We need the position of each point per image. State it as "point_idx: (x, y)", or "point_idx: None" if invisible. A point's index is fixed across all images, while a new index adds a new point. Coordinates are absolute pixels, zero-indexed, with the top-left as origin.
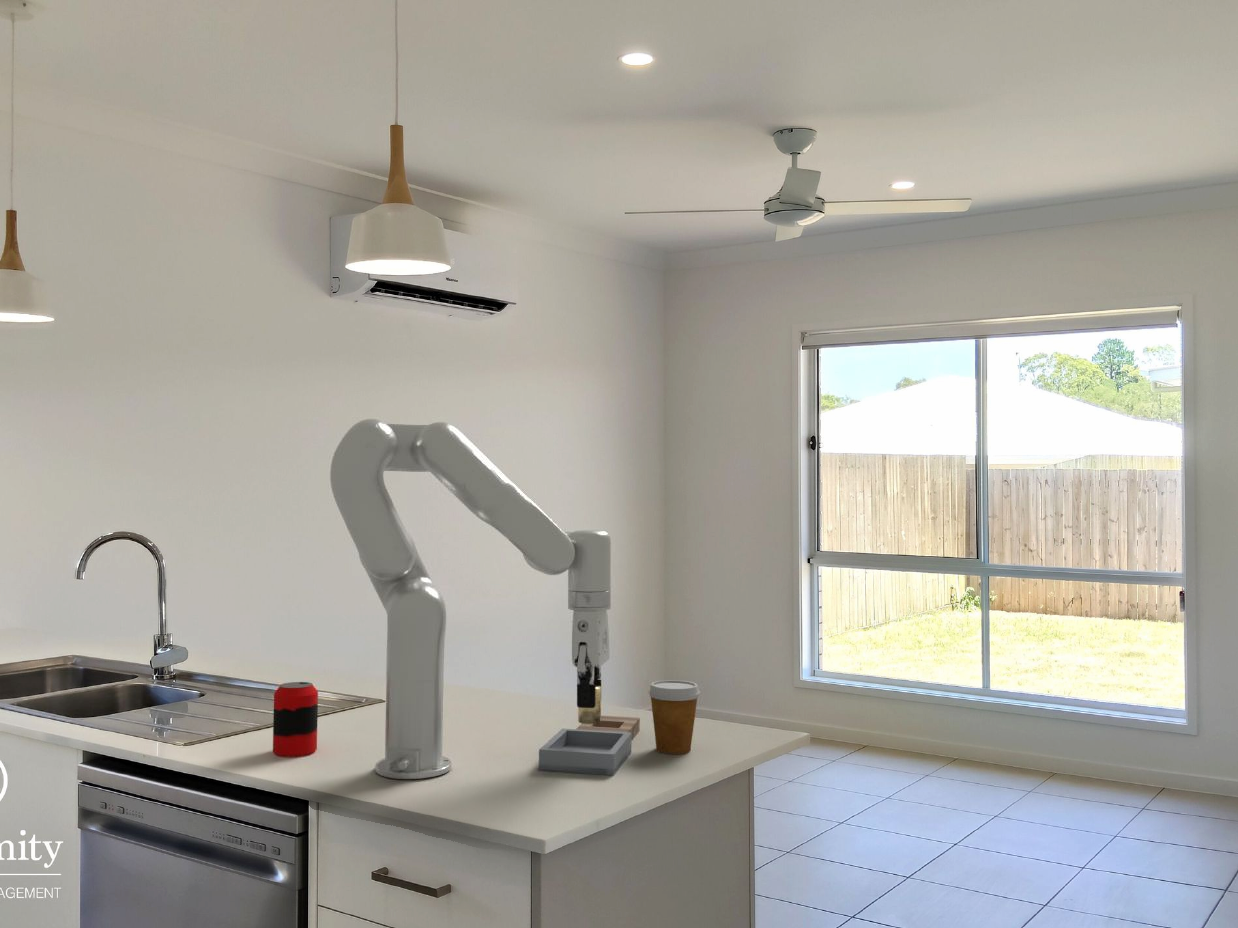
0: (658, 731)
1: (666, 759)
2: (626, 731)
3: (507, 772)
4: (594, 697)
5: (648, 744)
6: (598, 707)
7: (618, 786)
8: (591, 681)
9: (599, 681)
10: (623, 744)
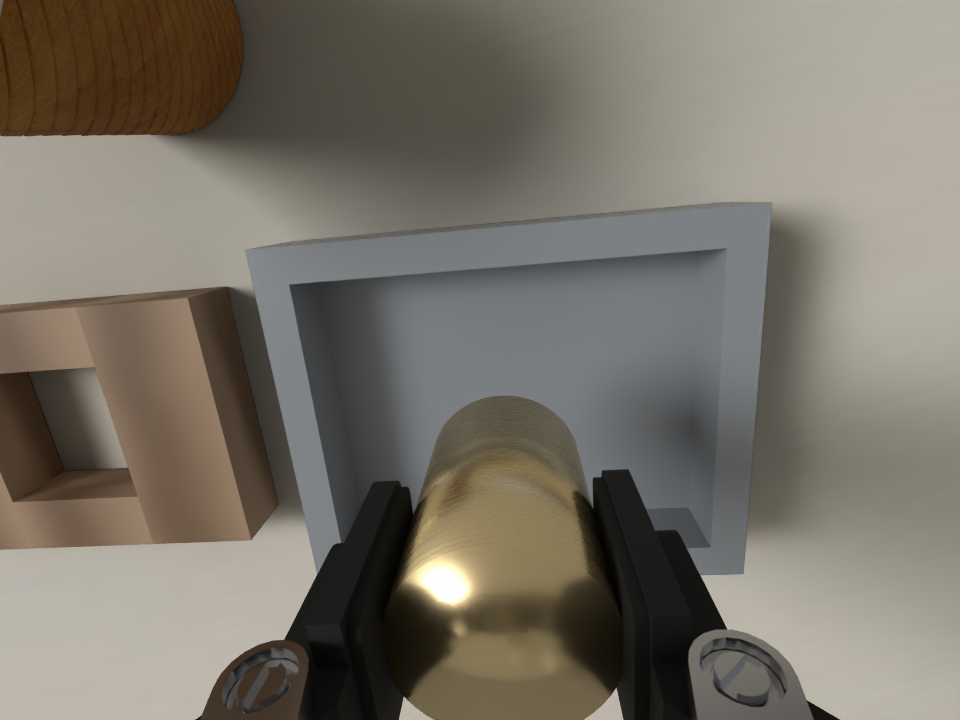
0: (175, 80)
1: (353, 19)
2: (140, 312)
3: (760, 603)
4: (646, 518)
5: (122, 199)
6: (537, 449)
7: (915, 123)
8: (800, 689)
9: (360, 619)
10: (490, 227)
